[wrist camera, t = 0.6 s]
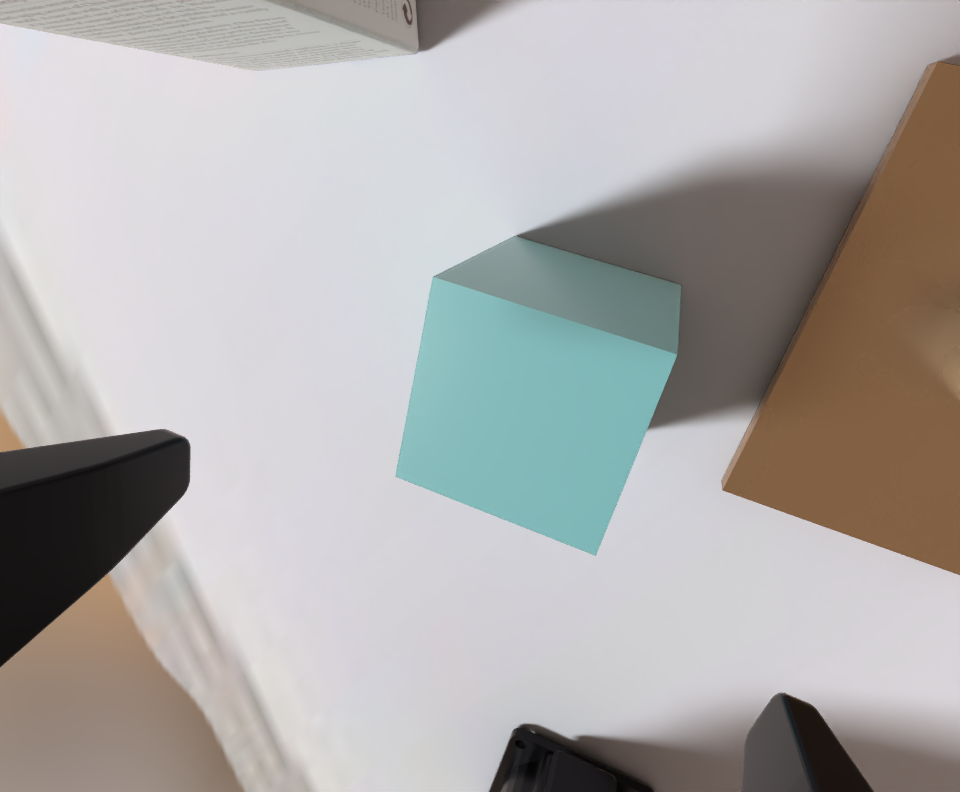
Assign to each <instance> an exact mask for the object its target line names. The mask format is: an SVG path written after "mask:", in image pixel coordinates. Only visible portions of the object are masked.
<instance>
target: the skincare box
mask: <svg viewBox="0 0 960 792" xmlns="http://www.w3.org/2000/svg"><path fill="white" fill-rule="evenodd" d="M0 23H1V24H6V25H11V26H17V27H22V28H28V29H33V30H38V31H44V32H49V33H54V34H60V35H65V36H70V37H76V38H81V39H87V40H92V41H98V42H103V43H109V44H114V45H120V46H125V47H130V48H136V49H141V50H147V51H152V52H157V53H162V54H168V55H173V56H178V57H184V58H189V59H194V60H199V61H204V62H209V63H214V64H220V65H225V66H230V67H235V68H241V69H246V70H252V71H261V70H271V69H280V68H290V67H299V66H308V65H317V64H327V63H336V62H345V61H355V60H363V59H372V58H381V57H390V56H399V55H409V54H416V53H418V50H419V42H418V28H417V14H416V0H0Z"/></svg>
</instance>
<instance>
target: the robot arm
mask: <svg viewBox="0 0 960 792" xmlns="http://www.w3.org/2000/svg"><path fill="white" fill-rule="evenodd" d="M189 482H190V443H189V441H188V439H186V438H185V437H183V436H181V435H179V434H176V433H174V432H172V431H169V430H166V429H158V430H151V431H144V432H138V433H131V434H124V435H117V436H110V437H103V438H96V439H89V440H82V441H75V442H68V443H61V444H54V445H47V446H40V447H33V448H27V449H20V450H13V451H6V452H0V667H1V666H2V665H3V664H4V663H6V662H7V661H8V660H9V659H10V658H11V657H13V656H14V655H15V654H16V653H17V652H18V651H20V650H21V649H22V648H23V647H24V646H25V645H26V644H28V642H30V641H31V640H32V639H33V638H34V637H36V636H37V635H38V634H39V633H40V632H41V631H42V630H44V629H45V628H46V627H47V626H48V625H49V624H51V623H52V622H53V621H54V620H55V619H56V618H57V617H59V615H61V614H62V613H63V612H64V611H65V610H66V609H68V608H69V607H70V606H71V605H72V604H73V603H75V602H76V601H77V600H78V599H79V598H80V597H81V596H83V595H84V594H85V593H86V592H87V591H88V590H90V589H91V588H92V587H93V586H94V585H95V584H96V583H97V582H99V581H100V580H101V579H102V578H103V577H104V576H105V575H106V574H108V573H109V572H110V571H111V570H112V569H113V568H114V567H115V566H116V565H117V564H118V563H119V562H120V561H121V560H122V559H123V558H124V557H125V556H126V555H127V554H128V553H129V552H130V551H131V550H132V549H133V548H134V547H135V546H136V545H137V543H138V542H139V541H140V540H141V539H142V538H143V537H144V536H145V535H146V534H147V533H148V532H149V531H150V530H151V529H152V528H153V527H154V526H155V525H156V524H157V523H158V521H159V520H160V519H161V518H162V517H163V516H164V515H165V514H166V513H167V512H168V511H169V510H170V509H171V508H172V507H173V506H174V505H175V504H176V503H177V502H178V501H179V499H180V498H181V497H182V496H183V495H184V493H185V492H186V490H187V488H188V486H189ZM489 792H654V791H653V790H652V789H651V788H650V787H648V786H646V785H644V784H642V783H640V782H637V781H635V780H633V779H631V778H629V777H627V776H624V775H622V774H620V773H618V772H616V771H614V770H612V769H609V768H607V767H605V766H603V765H601V764H599V763H597V762H594V761H592V760H590V759H588V758H586V757H584V756H581V755H579V754H577V753H575V752H573V751H571V750H569V749H566V748H564V747H562V746H560V745H558V744H556V743H554V742H551V741H549V740H547V739H545V738H543V737H541V736H538V735H536V734H534V733H532V732H530V731H528V730H526V729H522V728H516V729H514V730H513V731H512V734H511V736H510V739H509V741H508V744H507V746H506V749H505V752H504V754H503V757H502V759H501V762H500V764H499V767H498V769H497V772H496V774H495V777H494V780H493V782H492V785H491V787H490V790H489ZM742 792H874V791H873V789H872V788H871V786H870V785H869V783H868V782H867V781H866V779H865V778H864V776H863V775H862V773H861V772H860V771H859V769H858V768H857V766H856V765H855V763H854V762H853V761H852V759H851V758H850V756H849V755H848V753H847V752H846V751H845V749H844V748H843V746H842V745H841V743H840V742H839V740H838V739H837V738H836V736H835V735H834V733H833V732H832V730H831V729H830V728H829V726H828V725H827V723H826V722H825V720H824V719H823V718H822V716H821V715H820V713H819V712H818V711H817V709H816V708H815V707H814V706H812V705H811V704H809V703H807V702H805V701H802V700H800V699H798V698H795V697H793V696H791V695H788V694H786V693H778V694H776V695H775V696H774V697H773V698H772V699H771V700H770V702H769V703H768V705H767V706H766V708H765V709H764V710H763V712H762V713H761V715H760V716H759V718H758V719H757V720H756V722H755V723H754V725H753V726H752V728H751V729H750V731H749V733H748V735H747V739H746V743H745V749H744V764H743V779H742Z"/></svg>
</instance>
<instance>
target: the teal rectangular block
mask: <svg viewBox="0 0 960 792" xmlns="http://www.w3.org/2000/svg"><path fill="white" fill-rule="evenodd" d="M680 299H681V285H680V284H676V283H673V282H669V281H666V280H663V279H659V278H656V277H652V276H649V275H646V274H642V273H639V272H635V271H632V270H629V269H625V268H622V267H619V266H615V265H612V264H608V263H605V262H602V261H598V260H595V259H591V258H588V257H585V256H581V255H578V254H574V253H571V252H568V251H564V250H561V249H557V248H554V247H551V246H547V245H544V244H540V243H537V242H534V241H530V240H527V239H523V238H520V237H517V236H513V237H511V238H509V239H507V240H505V241H503V242H501V243H499V244H497V245H495V246H493V247H491V248H489V249H487V250H485V251H483V252H482V253H480V254H478V255H476V256H474V257H472V258H470V259H468V260H466V261H464V262H462V263H460V264H458V265H456V266H454V267H452V268H450V269H448V270H446V271H444V272H442V273H440V274H438V275H436V276H434V277H433V279H432V284H431V290H430V295H429V300H428V306H427V311H426V316H425V322H424V327H423V332H422V338H421V343H420V348H419V354H418V359H417V364H416V369H415V375H414V380H413V385H412V391H411V396H410V401H409V407H408V412H407V417H406V423H405V428H404V433H403V439H402V444H401V449H400V455H399V460H398V465H397V471H396V476H395V477H398V478H400V479H403V480H405V481H408V482H410V483H413V484H415V485H418V486H421V487H423V488H426V489H428V490H431V491H433V492H436V493H438V494H441V495H443V496H446V497H448V498H451V499H453V500H456V501H459V502H461V503H464V504H466V505H469V506H471V507H474V508H476V509H479V510H481V511H484V512H486V513H489V514H491V515H494V516H497V517H499V518H502V519H504V520H507V521H509V522H512V523H514V524H517V525H519V526H522V527H524V528H527V529H529V530H532V531H535V532H537V533H540V534H542V535H545V536H547V537H550V538H552V539H555V540H557V541H560V542H562V543H565V544H567V545H570V546H572V547H575V548H578V549H580V550H583V551H585V552H588V553H590V554H593V555H595V556H596V554H597V551H598V549H599V546H600V544H601V541H602V539H603V537H604V534H605V532H606V529H607V527H608V524H609V522H610V519H611V517H612V514H613V512H614V510H615V507H616V505H617V502H618V500H619V497H620V495H621V492H622V490H623V487H624V485H625V482H626V480H627V478H628V475H629V473H630V470H631V468H632V465H633V463H634V460H635V458H636V455H637V453H638V451H639V448H640V446H641V443H642V441H643V438H644V436H645V433H646V431H647V428H648V426H649V423H650V421H651V419H652V416H653V414H654V411H655V409H656V406H657V404H658V401H659V399H660V396H661V394H662V392H663V389H664V387H665V384H666V382H667V379H668V377H669V374H670V372H671V369H672V367H673V365H674V362H675V360H676V357H677V355H678V337H679V318H680Z"/></svg>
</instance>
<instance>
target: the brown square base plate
mask: <svg viewBox="0 0 960 792" xmlns="http://www.w3.org/2000/svg"><path fill="white" fill-rule="evenodd" d="M722 490H723V491H726V492H729V493H732V494H734V495H737V496H740V497H743V498H746V499H748V500H751V501H754V502H757V503H760V504H762V505H765V506H768V507H771V508H774V509H776V510H779V511H782V512H785V513H788V514H790V515H793V516H796V517H799V518H802V519H804V520H807V521H810V522H813V523H816V524H818V525H821V526H824V527H827V528H830V529H832V530H835V531H838V532H841V533H844V534H846V535H849V536H852V537H855V538H858V539H860V540H863V541H866V542H869V543H872V544H874V545H877V546H880V547H883V548H886V549H888V550H891V551H894V552H897V553H900V554H902V555H905V556H908V557H911V558H914V559H916V560H919V561H922V562H925V563H928V564H930V565H933V566H936V567H939V568H942V569H944V570H947V571H950V572H953V573H956V574H958V575H960V66H957V65H952V64H947V63H942V62H935V63H932V64H929V65H928V66H927V68H926V70H925V72H924V74H923V76H922V78H921V80H920V82H919V84H918V86H917V88H916V90H915V92H914V94H913V96H912V98H911V100H910V102H909V104H908V106H907V108H906V110H905V112H904V114H903V116H902V118H901V121H900V123H899V125H898V127H897V129H896V131H895V133H894V135H893V137H892V139H891V141H890V143H889V145H888V147H887V149H886V151H885V153H884V155H883V157H882V159H881V161H880V163H879V165H878V167H877V169H876V171H875V173H874V175H873V177H872V179H871V181H870V183H869V185H868V187H867V189H866V191H865V193H864V195H863V197H862V199H861V201H860V203H859V205H858V207H857V209H856V211H855V213H854V215H853V217H852V219H851V221H850V223H849V225H848V227H847V229H846V231H845V233H844V235H843V237H842V239H841V241H840V243H839V245H838V247H837V249H836V251H835V253H834V255H833V257H832V259H831V261H830V263H829V265H828V267H827V269H826V271H825V273H824V275H823V277H822V279H821V281H820V283H819V286H818V288H817V290H816V292H815V294H814V296H813V298H812V300H811V302H810V304H809V306H808V308H807V310H806V312H805V314H804V316H803V318H802V320H801V322H800V324H799V326H798V328H797V330H796V332H795V334H794V336H793V338H792V340H791V342H790V344H789V346H788V348H787V350H786V352H785V354H784V356H783V358H782V360H781V362H780V364H779V366H778V368H777V370H776V372H775V374H774V376H773V378H772V380H771V382H770V384H769V386H768V388H767V390H766V392H765V394H764V396H763V398H762V400H761V402H760V404H759V406H758V408H757V410H756V412H755V414H754V416H753V418H752V420H751V422H750V424H749V426H748V428H747V430H746V432H745V434H744V436H743V438H742V440H741V442H740V444H739V446H738V448H737V451H736V453H735V455H734V457H733V459H732V461H731V463H730V465H729V467H728V469H727V471H726V473H725V475H724V477H723V479H722Z"/></svg>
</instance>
